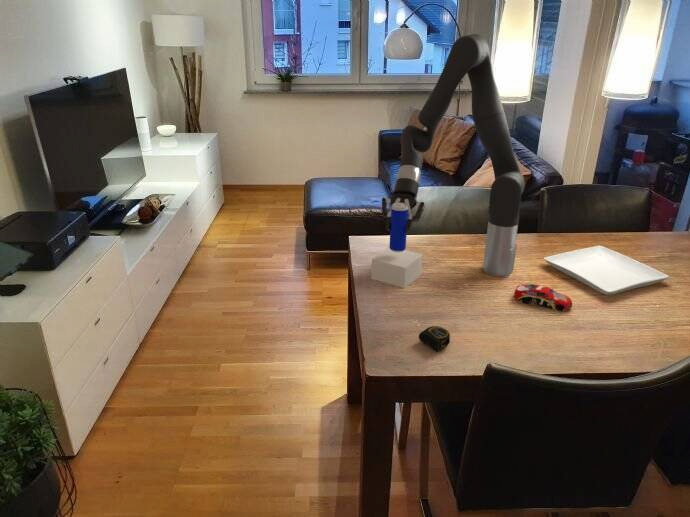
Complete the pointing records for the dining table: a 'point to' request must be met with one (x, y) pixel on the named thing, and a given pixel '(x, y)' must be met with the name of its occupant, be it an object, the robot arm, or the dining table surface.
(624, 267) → the square plate
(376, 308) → the dining table surface
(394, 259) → the plain grey cuboid
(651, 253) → the dining table surface
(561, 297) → the race car
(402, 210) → the beverage can
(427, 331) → the tape measure
